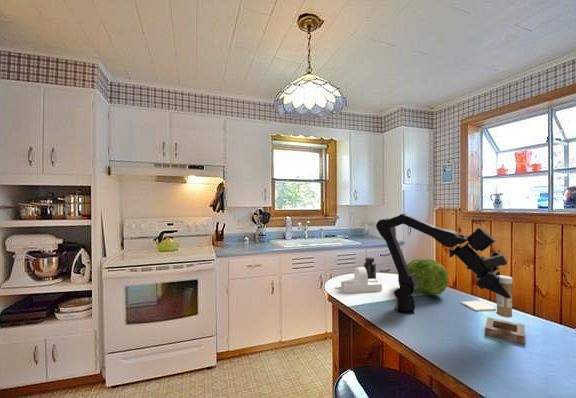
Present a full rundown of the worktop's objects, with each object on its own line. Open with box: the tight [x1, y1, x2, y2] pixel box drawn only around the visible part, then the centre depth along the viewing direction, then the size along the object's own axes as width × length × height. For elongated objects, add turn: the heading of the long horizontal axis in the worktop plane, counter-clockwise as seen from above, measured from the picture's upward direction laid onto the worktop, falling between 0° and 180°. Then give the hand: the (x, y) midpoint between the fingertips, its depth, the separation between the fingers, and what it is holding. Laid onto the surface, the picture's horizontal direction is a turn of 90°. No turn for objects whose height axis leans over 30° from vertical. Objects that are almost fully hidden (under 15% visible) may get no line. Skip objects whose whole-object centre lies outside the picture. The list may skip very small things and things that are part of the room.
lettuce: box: [406, 258, 449, 297], centre depth 143 cm, size 17×23×17 cm
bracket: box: [340, 266, 383, 294], centre depth 150 cm, size 19×10×11 cm, turn 94°
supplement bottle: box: [363, 257, 377, 280], centre depth 168 cm, size 7×7×12 cm
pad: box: [460, 300, 497, 312], centre depth 125 cm, size 9×9×1 cm
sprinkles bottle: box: [496, 274, 514, 318], centre depth 100 cm, size 5×5×14 cm
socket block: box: [484, 317, 526, 345], centre depth 100 cm, size 11×11×2 cm
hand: (509, 295), depth 100 cm, fingers closed on sprinkles bottle, 4 cm apart
